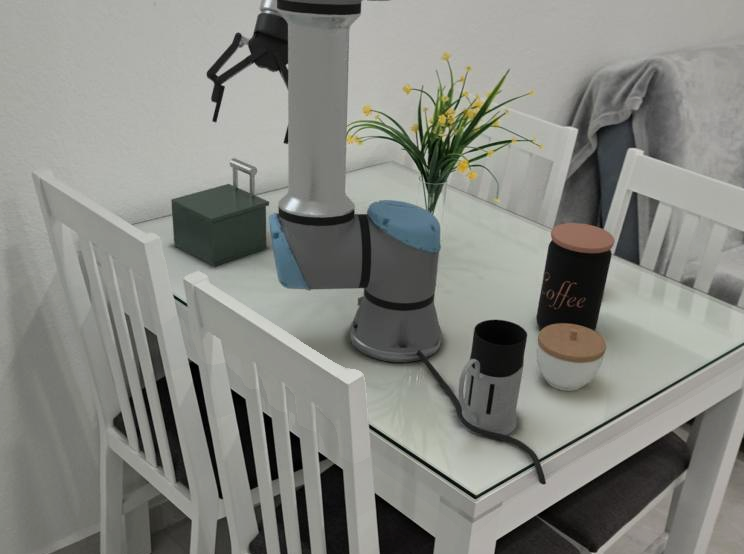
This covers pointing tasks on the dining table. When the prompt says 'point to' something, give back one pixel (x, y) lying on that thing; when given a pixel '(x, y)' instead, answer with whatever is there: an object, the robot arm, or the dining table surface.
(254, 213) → the bin
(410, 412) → the dining table surface
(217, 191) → the bin lid
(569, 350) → the trinket box
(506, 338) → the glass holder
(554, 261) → the coffee jar
